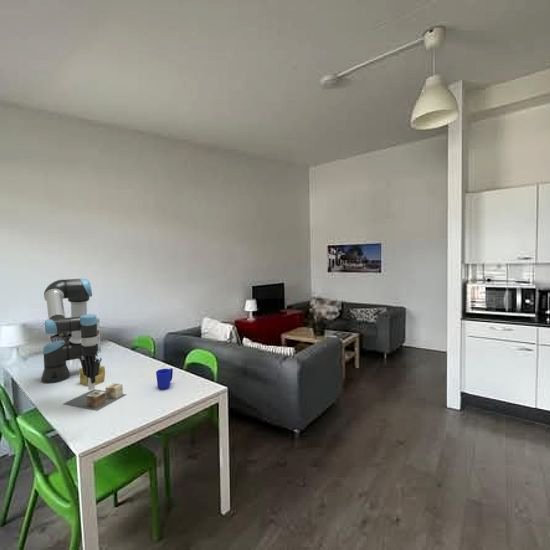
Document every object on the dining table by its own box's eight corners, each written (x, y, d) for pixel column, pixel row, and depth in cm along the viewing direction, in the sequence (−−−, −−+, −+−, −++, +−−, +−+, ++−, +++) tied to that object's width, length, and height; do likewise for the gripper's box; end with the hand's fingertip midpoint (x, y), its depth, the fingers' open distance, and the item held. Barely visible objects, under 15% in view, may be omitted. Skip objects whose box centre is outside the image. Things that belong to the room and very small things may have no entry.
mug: (178, 383, 199) (177, 367, 198) (165, 391, 188) (164, 374, 187) (166, 381, 202) (166, 365, 201) (153, 389, 190) (152, 372, 190)
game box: (94, 351, 267) (92, 318, 265) (101, 350, 268) (99, 318, 266) (81, 359, 246) (80, 323, 245) (89, 359, 247) (88, 323, 245)
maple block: (105, 398, 178) (105, 387, 178) (112, 393, 184) (112, 383, 183) (116, 399, 177) (115, 388, 177) (122, 394, 183) (122, 383, 183)
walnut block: (95, 396, 166) (96, 408, 167) (105, 392, 172) (105, 403, 172) (86, 395, 168) (87, 406, 168) (96, 390, 174) (96, 401, 174)
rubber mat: (61, 404, 171) (61, 404, 171) (94, 389, 190) (94, 389, 190) (97, 411, 164) (97, 410, 164) (127, 395, 183) (127, 394, 183)
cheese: (88, 387, 194) (87, 371, 193) (79, 383, 200) (78, 367, 199) (105, 381, 203) (105, 365, 202) (96, 378, 208) (95, 363, 208)
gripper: (73, 345, 168) (75, 390, 169) (93, 347, 163) (95, 393, 165) (86, 341, 175) (88, 384, 176) (105, 343, 171) (107, 387, 172)
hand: (91, 389), depth 171 cm, fingers closed
